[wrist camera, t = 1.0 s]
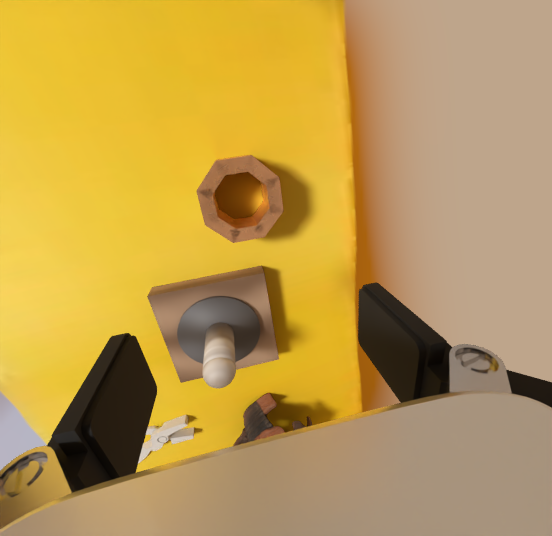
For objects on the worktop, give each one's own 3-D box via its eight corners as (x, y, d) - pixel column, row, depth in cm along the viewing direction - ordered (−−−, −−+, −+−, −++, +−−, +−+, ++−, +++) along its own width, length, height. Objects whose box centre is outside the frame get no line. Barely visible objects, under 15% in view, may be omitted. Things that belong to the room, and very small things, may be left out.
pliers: (57, 443, 33) (177, 406, 34) (64, 431, 34) (178, 396, 35) (96, 486, 37) (202, 452, 38) (101, 474, 38) (202, 441, 40)
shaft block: (152, 287, 29) (121, 344, 20) (261, 265, 30) (277, 310, 21) (183, 370, 33) (169, 444, 25) (276, 348, 35) (293, 412, 26)
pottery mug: (283, 376, 38) (320, 432, 33) (291, 392, 45) (323, 440, 40) (209, 431, 35) (237, 501, 30) (230, 439, 42) (256, 496, 38)
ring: (194, 162, 25) (189, 164, 21) (268, 151, 25) (276, 151, 22) (212, 234, 28) (210, 247, 24) (278, 222, 28) (286, 233, 25)
